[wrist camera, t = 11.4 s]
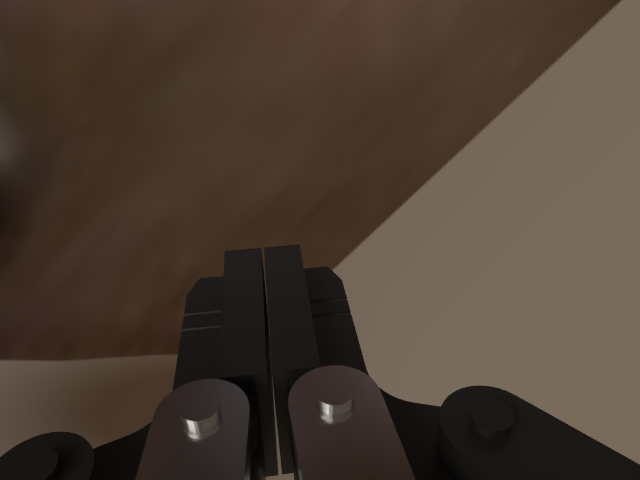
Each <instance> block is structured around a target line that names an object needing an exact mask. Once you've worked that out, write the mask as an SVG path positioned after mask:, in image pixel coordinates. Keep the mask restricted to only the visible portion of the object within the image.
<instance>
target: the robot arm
mask: <svg viewBox="0 0 640 480" xmlns="http://www.w3.org/2000/svg"><path fill="white" fill-rule="evenodd" d="M264 254H265V270H266V286H267V301H268V312H267V301H266V291H265V281H264V271H263V261H262V252H261V248H257V249H246V250H234V251H225V257H224V274H223V276H220V277H209V278H200V279H199V280H198V282H197V283H196V284H195V285H194V287H193V288H192V289H191V291H190V292H189V293H188V294H187V299H186V305H185V312H184V314H185V317H184V319H183V325H182V332H181V338H180V345H179V352H178V358H177V366H176V372H175V378H174V385H173V391H172V392H170V393H169V394H168V395H167V396H166V397H165V398H164V399H163V400H162V401H161V402H160V403H159V405H158V407H157V408H156V410H155V413H154V415H153V419H152V422H151V423H149V424H148V425H146V426H145V427H144V428H142V429H140V430H138V431H136V432H135V433H132V434H130V435H128V436H125V437H123V438H120V439H118V440H115V441H112V442H110V443H107V444H104V445H102V446H99V447H97V448H94V449H92V447H91V445H90V444H89V442H88V441H87V440H86V439H84V438H83V437H82V436H79V435H77V434H74V433H70V432H51V433H46V434H42V435H39V436H36V437H33V438H30V439H28V440H26V441H24V442H22V443H20V444H19V445H17V446H15V447H13V448H12V449H11V450H9V451H8V452H6V453H5V454H4V455H2V456H1V457H0V480H266V477H267V476H275V475H278V462H277V447H276V432H275V416H274V399H273V387H274V396H275V406H276V417H277V427H278V436H279V447H280V456H281V467H282V474H288V473H294V480H640V465H639V464H638V463H636V462H634V461H632V460H630V459H628V458H627V457H625V456H623V455H621V454H620V453H618V452H616V451H614V450H612V449H611V448H609V447H607V446H605V445H603V444H602V443H600V442H598V441H596V440H595V439H593V438H591V437H589V436H587V435H585V434H584V433H582V432H580V431H578V430H576V429H575V428H573V427H571V426H569V425H568V424H566V423H564V422H562V421H561V420H559V419H557V418H555V417H553V416H552V415H550V414H548V413H546V412H544V411H543V410H541V409H539V408H537V407H535V406H534V405H532V404H530V403H528V402H526V401H525V400H523V399H521V398H519V397H517V396H516V395H514V394H512V393H510V392H508V391H505V390H502V389H499V388H495V387H490V386H470V387H465V388H462V389H459V390H457V391H455V392H453V393H452V394H451V395H449V396H448V397H447V398H446V399H445V401H444V402H443V404H442V406H441V407H439V406H432V405H426V404H419V403H413V402H408V401H404V400H401V399H398V398H396V397H393V396H391V395H389V394H388V393H386V392H384V391H383V390H382V389H380V388H379V387H378V385H377V384H376V383H375V381H374V380H373V379H372V378H371V377H370V376H369V374H368V372H367V370H366V367H365V363H364V359H363V355H362V352H361V348H360V344H359V341H358V337H357V334H356V330H355V326H354V323H353V319H352V316H351V313H350V308H349V304H348V301H347V297H346V294H345V290H344V286H343V282H342V280H341V279H340V278H339V277H338V276H337V275H336V274H335V273H334V272H333V271H332V270H331V269H330V268H329V267H328V266H327V267H316V268H305V269H304V267H303V261H302V255H301V250H300V245H290V246H278V247H267V248H264ZM268 317H269V323H268ZM269 333H270V336H269ZM270 349H271V351H270ZM271 365H272V367H271ZM272 377H273V383H272Z"/></svg>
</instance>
